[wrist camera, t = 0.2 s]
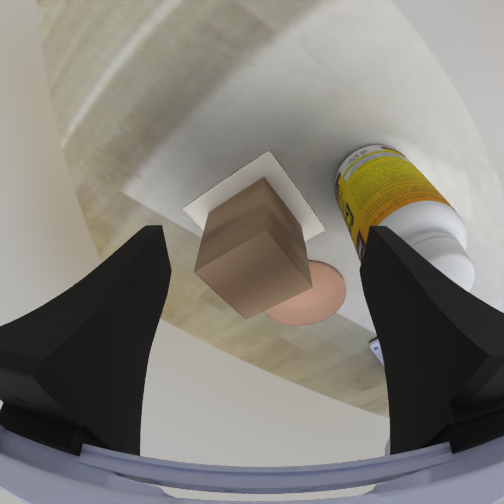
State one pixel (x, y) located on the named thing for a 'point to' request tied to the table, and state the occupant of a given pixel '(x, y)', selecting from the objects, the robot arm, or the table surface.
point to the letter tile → (248, 176)
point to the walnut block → (253, 251)
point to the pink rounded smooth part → (312, 298)
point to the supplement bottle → (402, 209)
